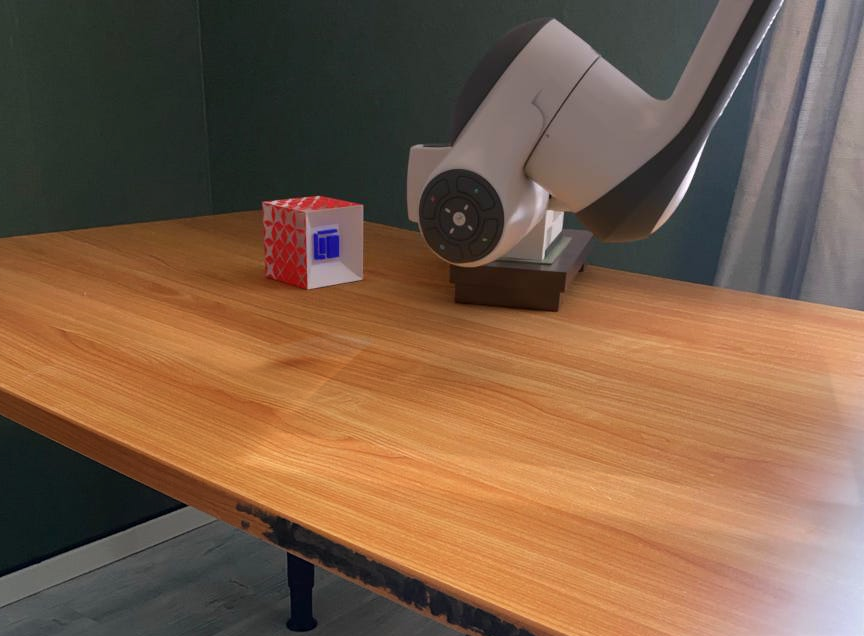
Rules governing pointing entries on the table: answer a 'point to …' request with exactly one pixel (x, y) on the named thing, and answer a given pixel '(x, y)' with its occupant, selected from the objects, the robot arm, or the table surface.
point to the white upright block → (539, 238)
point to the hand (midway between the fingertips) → (528, 170)
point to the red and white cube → (313, 241)
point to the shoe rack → (525, 276)
